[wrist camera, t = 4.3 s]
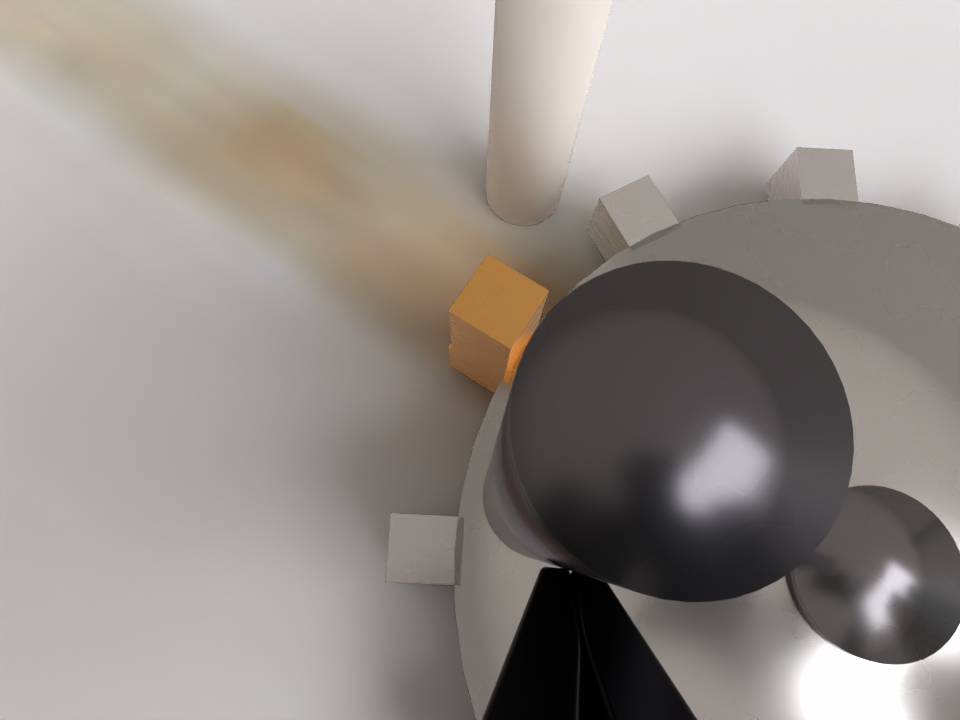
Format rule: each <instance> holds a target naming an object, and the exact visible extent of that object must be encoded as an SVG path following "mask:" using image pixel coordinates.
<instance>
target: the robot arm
mask: <svg viewBox="0 0 960 720" xmlns="http://www.w3.org/2000/svg"><path fill="white" fill-rule="evenodd" d="M482 720H697V718H696V717H695V715H694V714H693V712H692V710H691V709H690V707H689V706H688V704H687V703H686V701H685V700H684V698H683V697H682V695H681V694H680V692H679V691H678V689H677V688H676V686H675V685H674V683H673V682H672V680H671V678H670V677H669V675H668V674H667V672H666V671H665V669H664V668H663V666H662V665H661V663H660V662H659V660H658V659H657V657H656V656H655V654H654V653H653V651H652V650H651V648H650V646H649V645H648V643H647V642H646V640H645V639H644V637H643V636H642V634H641V633H640V631H639V630H638V628H637V627H636V625H635V624H634V622H633V621H632V619H631V618H630V616H629V615H628V613H627V611H626V610H625V608H624V607H623V605H622V604H621V602H620V601H619V599H618V598H617V596H616V595H615V593H614V592H613V590H612V589H611V587H610V586H609V584H608V583H606V582H603V581H600V580H597V579H594V578H591V577H588V576H585V575H582V574H579V573H575V572H571V574H570V572H569V570H567V569H564V568H554V567H543V568H541V570H540V572H539V574H538V577H537V579H536V582H535V584H534V587H533V589H532V592H531V594H530V597H529V600H528V602H527V605H526V607H525V610H524V612H523V615H522V617H521V620H520V623H519V625H518V628H517V630H516V633H515V635H514V638H513V640H512V643H511V646H510V648H509V651H508V653H507V656H506V658H505V661H504V664H503V666H502V669H501V671H500V674H499V676H498V679H497V681H496V684H495V687H494V689H493V692H492V694H491V697H490V699H489V702H488V704H487V707H486V710H485V712H484V715H483V717H482Z"/></svg>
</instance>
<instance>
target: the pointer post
mask: <svg viewBox="0 0 960 720" xmlns="http://www.w3.org/2000/svg"><path fill="white" fill-rule="evenodd" d="M613 1H614V0H496V1H495V20H494V40H493V59H492V79H491V98H490V117H489V137H488V156H487V175H486V198H487V201H488V204H489V206H490V208H491V209H492V211H493V212H494V213H495V214H496V215H497V216H498V217H499V218H501V219H502V220H504V221H506V222H508V223H511V224H514V225H520V226H528V225H534V224H537V223H540V222H542V221H544V220H545V219H547V218H548V217H549V216H550V215H551V214H552V213H553V212H554V211H555V209H556V208H557V206H558V203H559V200H560V196H561V192H562V189H563V185H564V181H565V178H566V174H567V170H568V167H569V163H570V159H571V155H572V152H573V148H574V144H575V141H576V137H577V133H578V130H579V126H580V122H581V119H582V115H583V111H584V108H585V104H586V100H587V96H588V93H589V89H590V85H591V82H592V78H593V74H594V71H595V67H596V63H597V60H598V56H599V52H600V49H601V45H602V41H603V38H604V34H605V30H606V26H607V23H608V19H609V15H610V12H611V8H612V4H613Z"/></svg>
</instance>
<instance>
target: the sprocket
mask: <svg viewBox="0 0 960 720" xmlns="http://www.w3.org/2000/svg"><path fill="white" fill-rule="evenodd" d="M767 192H768V201H766V202H758V203H750V204H742V205H737V206H733V207H729V208H725V209H721V210H718V211H714V212H710V213H706V214H702V215H698V216H695V217H692V218H690V219H687V220H685V221H682V222H680V223H679V222H678V220H677V219H676V217H675V216H674V214H673V212H672V211H671V209H670V208H669V206H668V205H667V203H666V202H665V200H664V198H663V197H662V195H661V194H660V192H659V191H658V189H657V188H656V186H655V185H654V183H653V181H652V180H651V178H650V177H649V175H648V176H646V177H644V178H641V179H639V180H637V181H635V182H633V183H631V184H629V185H627V186H624V187H622V188H620V189H618V190H616V191H614V192H612V193H609V194H607V195H605V196H603V197H601V198H599V201H598V204H597V206H596V209H595V211H594V214H593V216H592V219H591V222H590V224H589V227H588V229H587V231H588V232H589V234H590V236H591V237H592V239H593V241H594V242H595V244H596V246H597V247H598V249H599V251H600V252H601V254H602V256H603V257H604V259H605V261H606V262H605V263H604V264H602V265H601V266H600V267H599V268H597V269H596V270H595V271H593V272H592V273H591V274H589V275H588V276H587V277H585V278H584V279H583V280H581V281H580V282H579V283H578V284H577V285H576V286H575V287H574V288H573V289H572V290H571V291H570V292H569V293H568V294H567V295H566V296H565V297H564V298H563V299H562V300H561V301H560V302H559V303H558V304H557V305H556V306H555V307H554V308H553V309H552V310H551V311H550V312H549V313H548V314H547V315H546V316H545V317H544V318H543V320H542V321H541V322H540V324H539V325H538V323H539V320H540V317H541V314H542V311H543V308H544V305H545V302H546V299H547V296H548V293H549V290H547V289H546V288H544V287H542V286H541V285H539V284H537V283H536V282H534V281H532V280H531V279H529V278H527V277H526V276H524V275H522V274H521V273H519V272H517V271H516V270H514V269H512V268H511V267H509V266H507V265H506V264H504V263H502V262H501V261H499V260H497V259H496V258H494V257H492V256H491V255H489V254H488V255H487V256H486V258H485V259H484V260H483V262H482V263H481V265H480V266H479V268H478V269H477V271H476V272H475V273H474V275H473V276H472V278H471V279H470V281H469V282H468V283H467V285H466V286H465V288H464V289H463V291H462V292H461V294H460V295H459V296H458V298H457V299H456V301H455V302H454V304H453V305H452V306H451V308H450V309H449V322H450V334H451V344H450V345H449V356H450V366H452V367H453V368H455V369H456V370H458V371H460V372H461V373H463V374H464V375H466V376H467V377H469V378H471V379H472V380H474V381H475V382H477V383H479V384H480V385H482V386H483V387H485V388H486V389H488V390H490V391H491V392H493V393H494V395H493V397H492V399H491V402H490V404H489V407H488V410H487V412H486V415H485V417H484V420H483V422H482V425H481V427H480V430H479V432H478V435H477V437H476V440H475V442H474V445H473V449H472V453H471V457H470V461H469V465H468V469H467V473H466V477H465V481H464V485H463V489H462V493H461V498H460V506H459V514H458V516H439V515H419V514H399V513H391V517H390V529H389V542H388V554H387V567H386V579H385V582H398V583H419V584H439V585H454V590H455V614H456V622H457V630H458V637H459V645H460V653H461V660H462V667H463V671H464V675H465V679H466V683H467V687H468V691H469V695H470V698H471V702H472V706H473V710H474V714H475V718H476V720H482V717H483V715H484V712H485V710H486V707H487V704H488V702H489V699H490V697H491V694H492V692H493V689H494V687H495V684H496V681H497V679H498V676H499V674H500V671H501V669H502V666H503V664H504V661H505V658H506V656H507V653H508V651H509V648H510V646H511V643H512V640H513V638H514V635H515V633H516V630H517V628H518V625H519V623H520V620H521V617H522V615H523V612H524V610H525V607H526V605H527V602H528V600H529V597H530V594H531V592H532V589H533V587H534V584H535V582H536V579H537V577H538V574H539V572H540V570H541V568H543V567H554V568H564V569H567V570H569V572H570V574H571V572H575V573H579V574H582V575H585V576H588V577H591V578H594V579H597V580H600V581H603V582H606V583H608V584H609V586H610V587H611V589H612V590H613V592H614V593H615V595H616V596H617V598H618V599H619V601H620V602H621V604H622V605H623V607H624V608H625V610H626V611H627V613H628V615H629V616H630V618H631V619H632V621H633V622H634V624H635V625H636V627H637V628H638V630H639V631H640V633H641V634H642V636H643V637H644V639H645V640H646V642H647V643H648V645H649V646H650V648H651V650H652V651H653V653H654V654H655V656H656V657H657V659H658V660H659V662H660V663H661V665H662V666H663V668H664V669H665V671H666V672H667V674H668V675H669V677H670V678H671V680H672V682H673V683H674V685H675V686H676V688H677V689H678V691H679V692H680V694H681V695H682V697H683V698H684V700H685V701H686V703H687V704H688V706H689V707H690V709H691V710H692V712H693V714H694V715H695V717H696V718H697V720H960V225H958V226H954V225H951V224H948V223H946V222H943V221H940V220H937V219H934V218H931V217H928V216H925V215H922V214H918V213H914V212H909V211H905V210H900V209H896V208H892V207H887V206H883V205H879V204H872V203H863V202H858V195H857V186H856V177H855V168H854V159H853V150H840V149H821V148H802V147H797V148H796V149H795V150H794V152H793V153H792V154H791V155H790V156H789V157H788V159H787V160H786V161H785V162H784V163H783V165H782V166H781V167H780V168H779V169H778V171H777V172H776V173H775V174H774V175H773V176H772V178H771V179H770V180H769V181H768V182H767Z"/></svg>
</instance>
